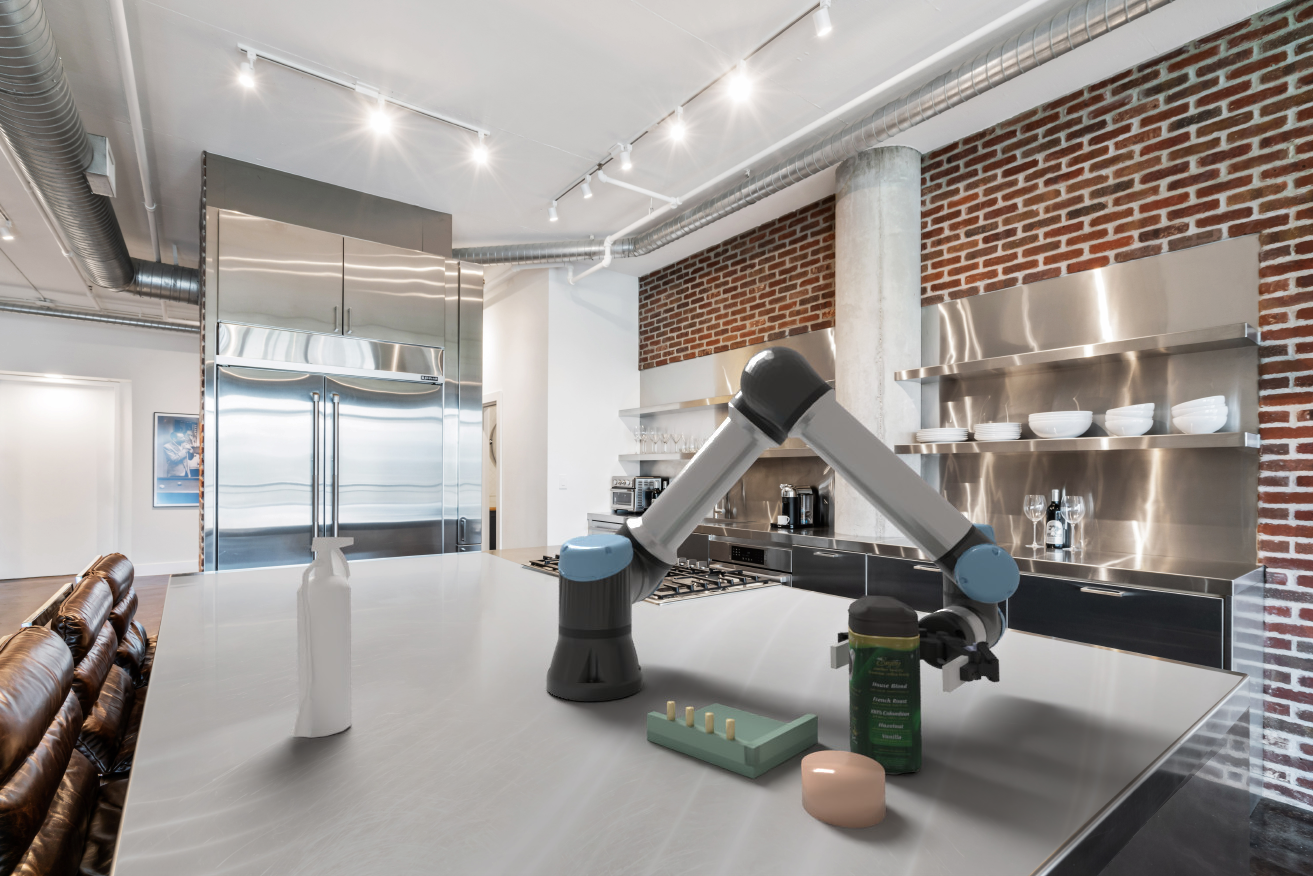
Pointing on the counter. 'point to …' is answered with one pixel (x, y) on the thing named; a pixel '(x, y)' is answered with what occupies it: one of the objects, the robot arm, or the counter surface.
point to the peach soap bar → (843, 788)
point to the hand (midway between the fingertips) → (886, 667)
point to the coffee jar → (885, 683)
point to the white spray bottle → (324, 642)
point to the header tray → (732, 737)
